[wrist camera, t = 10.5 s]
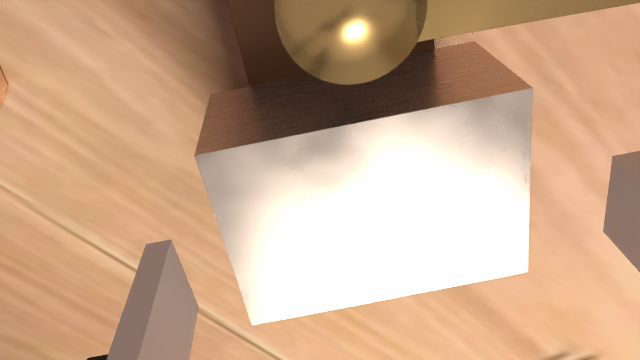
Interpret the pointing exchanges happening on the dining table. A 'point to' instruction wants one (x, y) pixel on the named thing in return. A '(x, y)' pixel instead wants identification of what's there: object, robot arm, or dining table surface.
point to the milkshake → (2, 88)
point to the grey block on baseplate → (371, 182)
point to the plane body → (270, 42)
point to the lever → (396, 29)
